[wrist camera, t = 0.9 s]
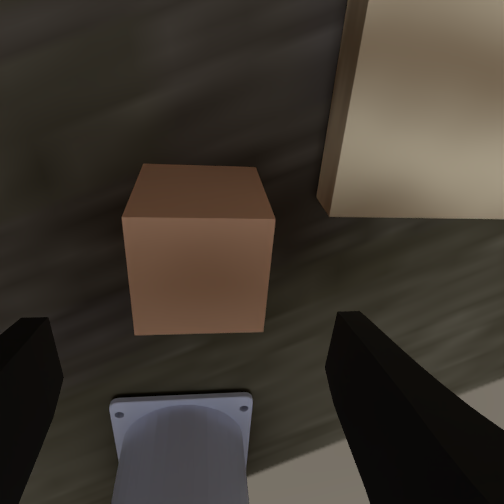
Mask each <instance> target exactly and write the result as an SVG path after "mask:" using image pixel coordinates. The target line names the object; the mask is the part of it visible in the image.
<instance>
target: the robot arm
mask: <svg viewBox="0 0 504 504" xmlns="http://www.w3.org/2000/svg"><path fill="white" fill-rule="evenodd" d="M325 370H326V374H327V379H328V383H329V387H330V391H331V395H332V399H333V403H334V406H335V409H336V412H337V414H338V417H339V420H340V423H341V425H342V428H343V431H344V433H345V436H346V439H347V441H348V444H349V447H350V449H351V452H352V455H353V457H354V460H355V463H356V465H357V468H358V471H359V473H360V476H361V478H362V481H363V484H364V487H365V489H366V492H367V495H368V498H369V501H370V504H504V430H503V429H501V428H500V427H498V426H497V425H496V424H494V423H493V422H491V421H490V420H488V419H487V418H486V417H484V416H483V415H481V414H480V413H479V412H477V411H476V410H475V409H473V408H472V407H470V406H469V405H468V404H466V403H465V402H464V401H463V400H461V399H460V398H459V397H458V396H456V395H455V394H454V393H453V392H451V391H450V390H449V389H448V388H446V387H445V386H444V385H443V384H441V383H440V382H439V381H438V380H437V379H435V378H434V377H433V376H432V375H431V374H429V373H428V372H427V371H426V370H425V369H424V368H422V367H421V366H420V365H419V364H418V363H417V362H415V361H414V360H413V359H412V358H411V357H410V356H409V355H408V354H406V353H405V352H404V351H403V350H402V349H401V348H400V347H399V346H398V345H396V344H395V343H394V342H393V341H392V340H391V339H390V338H389V337H388V336H387V335H385V334H384V333H383V332H382V331H381V330H380V329H379V328H378V327H377V326H376V325H375V324H374V323H372V322H371V321H370V320H369V319H368V318H367V317H366V316H365V315H363V314H362V313H361V312H360V311H348V312H337V316H336V321H335V325H334V329H333V334H332V338H331V343H330V347H329V351H328V356H327V360H326V365H325ZM63 378H64V377H63V373H62V369H61V365H60V361H59V357H58V353H57V349H56V345H55V342H54V338H53V334H52V330H51V326H50V322H49V318H48V317H40V318H21V319H19V320H18V321H17V322H15V323H14V324H13V325H12V326H11V327H9V328H8V329H7V330H6V331H5V332H3V333H2V334H1V335H0V504H19V501H20V499H21V496H22V494H23V491H24V489H25V486H26V484H27V482H28V479H29V477H30V474H31V472H32V469H33V467H34V464H35V462H36V459H37V457H38V454H39V452H40V449H41V447H42V444H43V442H44V439H45V437H46V434H47V432H48V429H49V427H50V424H51V422H52V419H53V416H54V412H55V409H56V405H57V401H58V398H59V394H60V390H61V386H62V382H63ZM252 405H253V399H252V395H251V394H250V393H248V392H233V393H212V394H190V395H168V396H146V397H125V398H115V399H113V400H112V401H111V402H110V407H109V411H110V416H111V422H112V428H113V433H114V439H115V444H116V450H117V455H118V461H119V464H118V469H117V475H116V480H115V485H114V490H113V496H112V501H111V504H249V497H248V487H247V477H246V465H247V455H248V445H249V435H250V425H251V415H252Z"/></svg>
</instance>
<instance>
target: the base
mask: <svg viewBox="0 0 504 504" xmlns="http://www.w3.org/2000/svg"><path fill="white" fill-rule="evenodd" d="M316 198H317V199H318V201H319V202H320V204H321V205H322V207H323V208H324V210H325V211H326V213H327V214H328V216H329V217H386V218H461V219H504V0H348V2H347V8H346V14H345V20H344V27H343V33H342V39H341V45H340V52H339V58H338V64H337V70H336V77H335V83H334V89H333V95H332V102H331V108H330V114H329V120H328V127H327V133H326V139H325V145H324V152H323V158H322V164H321V170H320V177H319V183H318V189H317V195H316Z"/></svg>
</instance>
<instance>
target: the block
mask: <svg viewBox="0 0 504 504" xmlns="http://www.w3.org/2000/svg"><path fill="white" fill-rule="evenodd" d="M275 220H276V219H275V216H274V214H273V211H272V208H271V206H270V203H269V201H268V198H267V195H266V193H265V190H264V187H263V185H262V182H261V180H260V177H259V174H258V172H257V169H256V167H237V166H205V165H173V164H143V166H142V168H141V171H140V173H139V176H138V178H137V180H136V183H135V185H134V188H133V190H132V193H131V195H130V198H129V200H128V203H127V205H126V208H125V210H124V212H123V215H122V225H123V234H124V243H125V252H126V261H127V270H128V279H129V288H130V297H131V306H132V315H133V324H134V333H135V335H168V334H206V333H243V332H263V331H264V321H265V312H266V303H267V294H268V285H269V275H270V266H271V257H272V248H273V239H274V229H275Z"/></svg>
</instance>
